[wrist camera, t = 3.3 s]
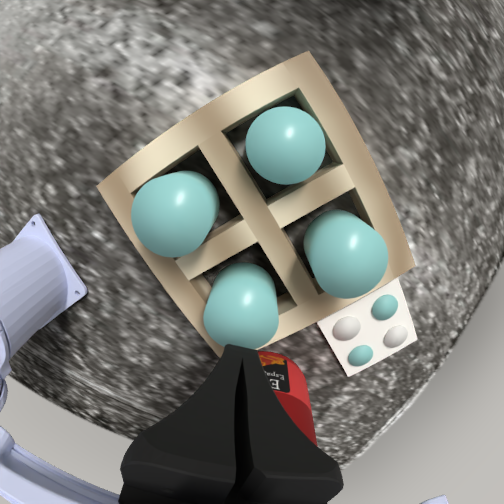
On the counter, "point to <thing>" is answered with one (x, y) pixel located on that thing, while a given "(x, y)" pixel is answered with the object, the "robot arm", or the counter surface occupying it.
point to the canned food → (290, 390)
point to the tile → (370, 328)
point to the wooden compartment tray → (254, 202)
